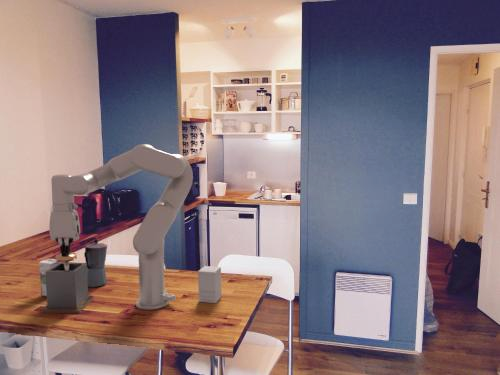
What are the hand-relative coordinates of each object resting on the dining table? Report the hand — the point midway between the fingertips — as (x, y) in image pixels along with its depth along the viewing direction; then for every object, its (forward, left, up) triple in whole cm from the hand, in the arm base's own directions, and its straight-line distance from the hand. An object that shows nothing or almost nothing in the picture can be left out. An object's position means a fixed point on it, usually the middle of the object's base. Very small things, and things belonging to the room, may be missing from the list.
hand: (65, 255), depth 161 cm
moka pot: (-2, -23, -20) cm, 31 cm away
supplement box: (-54, -7, -20) cm, 58 cm away
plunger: (0, 0, -14) cm, 14 cm away
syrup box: (+12, -11, -20) cm, 26 cm away
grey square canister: (0, 0, -20) cm, 20 cm away
